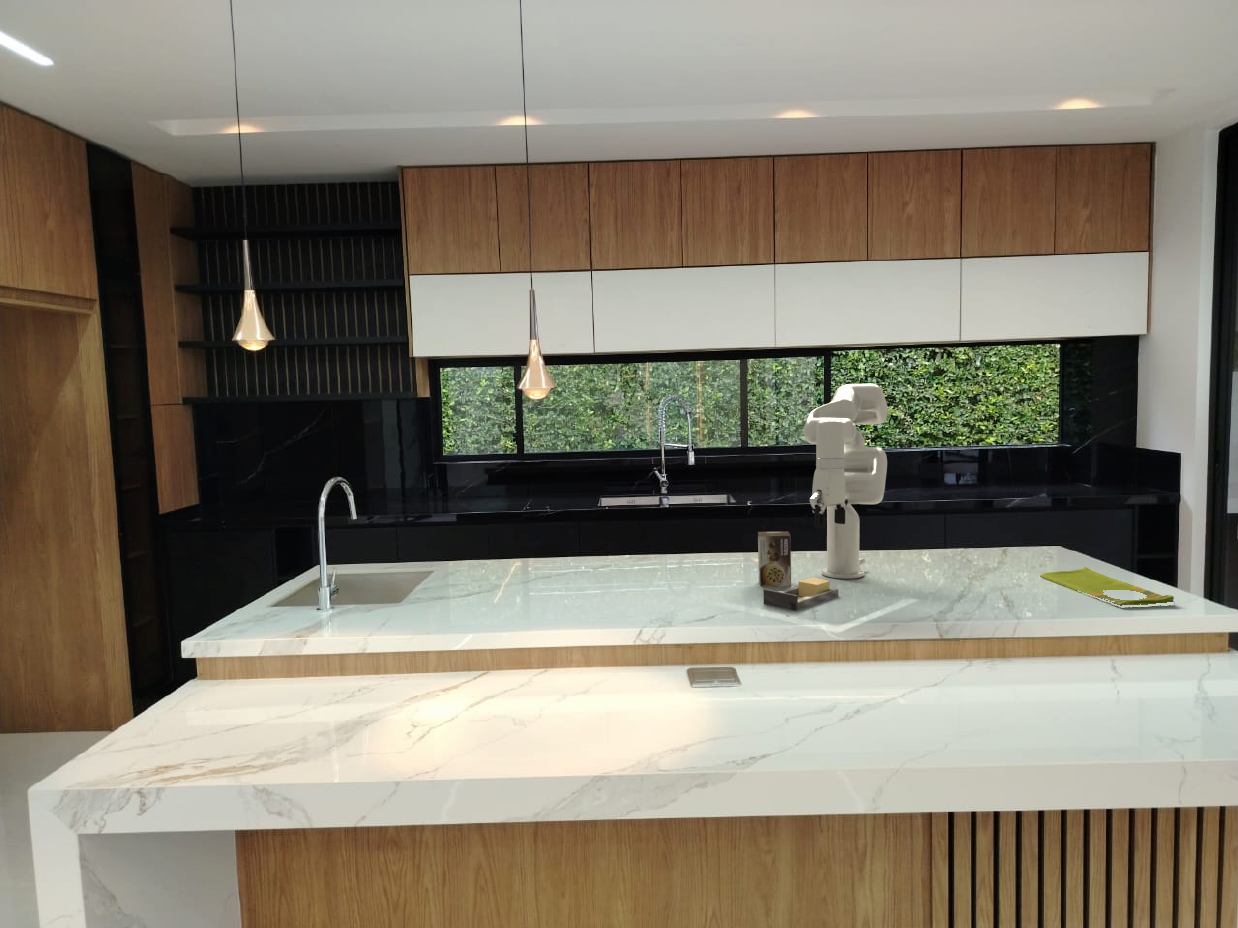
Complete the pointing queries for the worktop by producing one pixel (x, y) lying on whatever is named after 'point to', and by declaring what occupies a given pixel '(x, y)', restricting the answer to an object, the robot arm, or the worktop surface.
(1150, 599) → the dish towel
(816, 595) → the chute
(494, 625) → the worktop surface
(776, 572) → the coffee box
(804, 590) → the block
